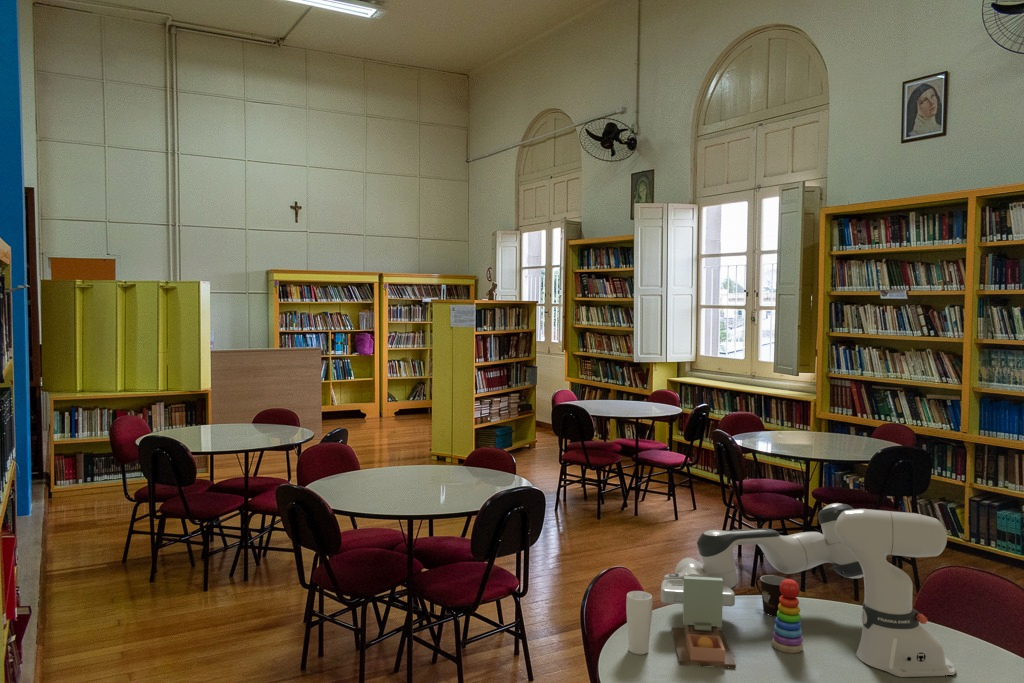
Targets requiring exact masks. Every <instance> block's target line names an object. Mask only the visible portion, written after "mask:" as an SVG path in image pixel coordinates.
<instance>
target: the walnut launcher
mask: <svg viewBox="0 0 1024 683" xmlns="http://www.w3.org/2000/svg"><path fill="white" fill-rule="evenodd" d="M672 633H673V634H672ZM671 634H672V637H673V642H675V643H674V647H675V651H676V655H677V656H676V657H677V661H678V664H679V666H689V665H698V666H697V667H704V666H714V667H713V668H719V667H727V668H726V669H734V668H736V669H737V664H736V661H735V659H734V657H733V653H732V651H731V648H730V647H729V644H728V641H727V638H726V635H725V633H724V630H723V629H718V627H717V626H711V631H710V630H694V627H693V625H684V624H683V627H675V626H674V627H673V626H672V627H671ZM687 634H698V635H714V636H720V638H721V640H722V643H723V646H724V649H725V664H720V663H705V662H690V659H689V655H688V651H687V647H686V644H687ZM699 665H700V666H699ZM728 667H729V668H728Z"/></svg>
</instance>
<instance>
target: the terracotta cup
mask: <svg viewBox="0 0 1024 683" xmlns="http://www.w3.org/2000/svg"><path fill="white" fill-rule="evenodd" d="M701 637H708V638H710V639H711V641H712V643H713V648H705V647H698V646H697V642H698V640H699V638H701ZM686 647H687V651H688V655H689V659H690V662H705V663H720V664H725V649H724V646H723V643H722V640H721V638H720V636H714V635H698V634H687V644H686Z"/></svg>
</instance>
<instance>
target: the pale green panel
mask: <svg viewBox="0 0 1024 683" xmlns="http://www.w3.org/2000/svg"><path fill="white" fill-rule="evenodd" d="M722 604H723V580H722V578H711V577H692V576H684V588H683V604H682V623H683V626H684V625H693V627H694V630H710V631H711V626H717V628H718V627H719V628H721V627H723V606H722Z"/></svg>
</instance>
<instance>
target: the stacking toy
mask: <svg viewBox="0 0 1024 683" xmlns="http://www.w3.org/2000/svg"><path fill="white" fill-rule="evenodd" d="M800 590H801V589H800V586H799V584H798V582H796V580H794V579H791V578H787V579H785V580H783V581H782V582H781V584H780V592H781V594H782V596H780V598H779V601H780V604H779V605H778V609H779V610H778V611H777V617H775V619H774V623H775V624H774V626H773V629H774V631H773V633H772V640H771V645H772V646H773V647H774V648H775V649H776V650H778V651H779V652H783V653H786V654H797V653H800V652H802V650H803V649H804V644H803V640H804V638H803V635H802V632H803V631H802V628H801V626H802V623H801V621H800V620H801V613H800V611H801V608H800V606H799V604H800V601H799V598H797V597H798V596H799V593H800Z"/></svg>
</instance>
